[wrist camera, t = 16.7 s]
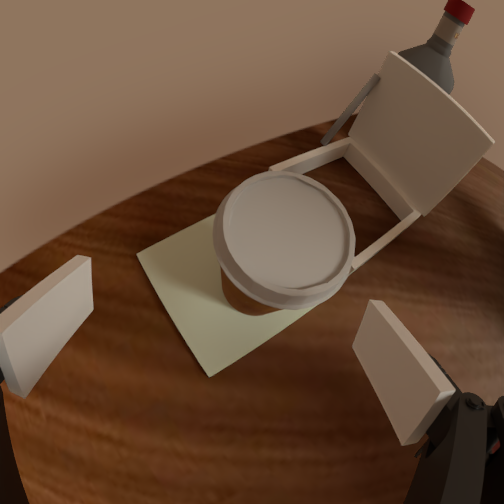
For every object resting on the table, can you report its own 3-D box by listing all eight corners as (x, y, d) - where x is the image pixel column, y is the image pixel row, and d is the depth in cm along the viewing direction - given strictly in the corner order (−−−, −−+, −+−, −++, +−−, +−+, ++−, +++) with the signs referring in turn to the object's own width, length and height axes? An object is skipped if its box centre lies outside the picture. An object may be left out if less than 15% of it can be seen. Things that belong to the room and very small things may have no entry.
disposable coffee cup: (318, 294, 29) (385, 247, 19) (245, 353, 26) (284, 339, 15) (261, 223, 31) (297, 147, 21) (184, 271, 28) (182, 204, 17)
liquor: (410, 150, 46) (492, 23, 19) (394, 171, 42) (492, 20, 15) (371, 120, 47) (438, -12, 21) (350, 136, 44) (426, -22, 17)
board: (248, 202, 34) (249, 197, 33) (323, 300, 30) (326, 297, 29) (138, 258, 29) (136, 253, 28) (209, 377, 25) (209, 377, 24)
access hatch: (343, 144, 42) (391, 49, 26) (416, 224, 37) (495, 141, 22) (260, 178, 36) (296, 49, 20) (345, 283, 32) (451, 183, 16)
